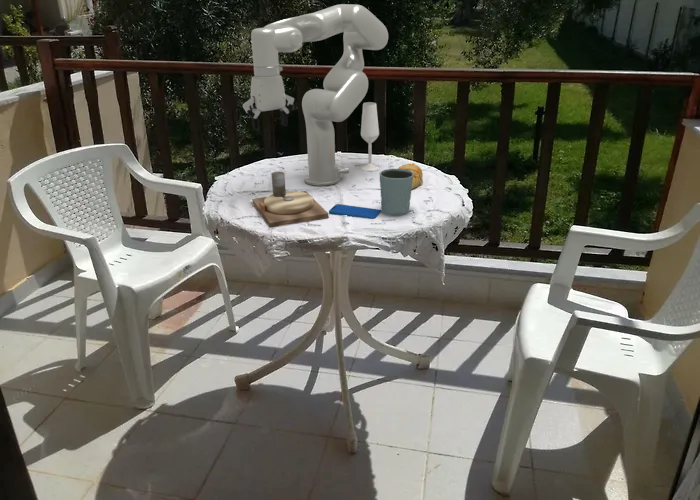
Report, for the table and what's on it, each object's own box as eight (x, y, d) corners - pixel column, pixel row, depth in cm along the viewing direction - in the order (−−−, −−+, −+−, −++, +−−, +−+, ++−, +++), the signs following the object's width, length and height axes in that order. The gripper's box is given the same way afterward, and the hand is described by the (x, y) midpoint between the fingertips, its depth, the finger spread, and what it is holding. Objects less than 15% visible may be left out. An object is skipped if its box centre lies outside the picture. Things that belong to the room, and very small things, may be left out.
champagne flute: (360, 166, 224) (359, 102, 214) (377, 165, 225) (377, 101, 215) (362, 171, 218) (361, 105, 208) (380, 170, 219) (380, 105, 209)
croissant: (411, 203, 197) (423, 184, 193) (385, 188, 197) (396, 169, 193) (419, 182, 215) (430, 164, 211) (395, 168, 215) (406, 150, 211)
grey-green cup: (373, 208, 184) (373, 171, 179) (400, 202, 188) (401, 166, 183) (391, 219, 176) (391, 180, 171) (419, 212, 180) (420, 174, 175)
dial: (322, 206, 182) (321, 178, 178) (280, 217, 174) (278, 189, 170) (296, 193, 193) (295, 167, 189) (255, 203, 185) (253, 176, 181)
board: (306, 195, 196) (305, 185, 195) (328, 217, 178) (328, 207, 176) (252, 203, 190) (251, 193, 189) (270, 227, 172) (269, 216, 170)
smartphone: (374, 218, 176) (327, 211, 180) (374, 221, 176) (327, 214, 181) (381, 209, 182) (336, 203, 187) (381, 212, 182) (336, 206, 187)
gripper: (285, 67, 185) (289, 122, 193) (235, 73, 177) (240, 130, 184) (297, 70, 180) (300, 126, 187) (246, 76, 171) (251, 134, 178)
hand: (270, 128), depth 185 cm, fingers open, 9 cm apart
